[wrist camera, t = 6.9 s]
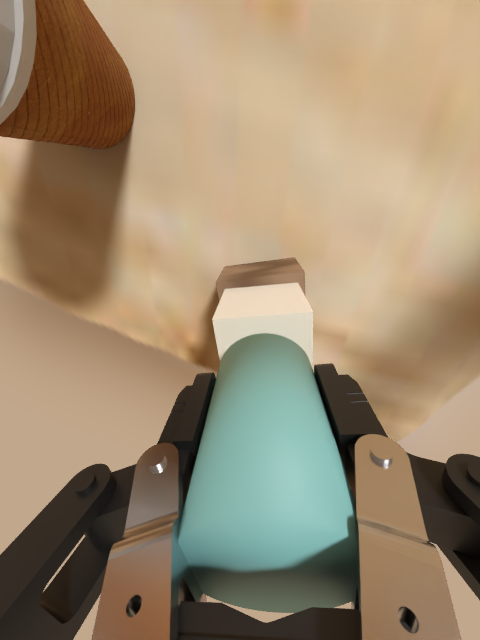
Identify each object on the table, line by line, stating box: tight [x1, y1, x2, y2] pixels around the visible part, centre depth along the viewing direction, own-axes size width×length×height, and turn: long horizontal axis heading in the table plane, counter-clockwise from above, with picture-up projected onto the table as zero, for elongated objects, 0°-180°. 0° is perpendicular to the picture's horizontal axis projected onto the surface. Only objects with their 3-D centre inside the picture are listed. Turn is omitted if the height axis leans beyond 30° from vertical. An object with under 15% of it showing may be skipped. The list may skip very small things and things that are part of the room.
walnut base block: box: [216, 257, 305, 302], centre depth 20 cm, size 6×6×5 cm
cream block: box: [212, 283, 313, 366], centre depth 15 cm, size 5×5×5 cm
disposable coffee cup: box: [0, 0, 135, 149], centre depth 11 cm, size 10×10×12 cm
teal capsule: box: [178, 333, 358, 613], centre depth 8 cm, size 4×4×7 cm
